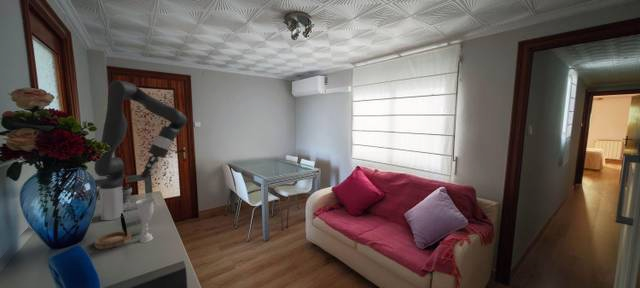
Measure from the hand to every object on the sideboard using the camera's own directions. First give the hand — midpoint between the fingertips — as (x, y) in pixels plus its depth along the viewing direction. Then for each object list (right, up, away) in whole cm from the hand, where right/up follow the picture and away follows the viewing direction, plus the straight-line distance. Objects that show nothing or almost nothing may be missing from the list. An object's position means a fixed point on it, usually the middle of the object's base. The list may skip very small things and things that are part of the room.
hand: (144, 177), depth 114 cm
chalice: (+6, -28, -6) cm, 29 cm away
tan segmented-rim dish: (-7, -28, -9) cm, 30 cm away
